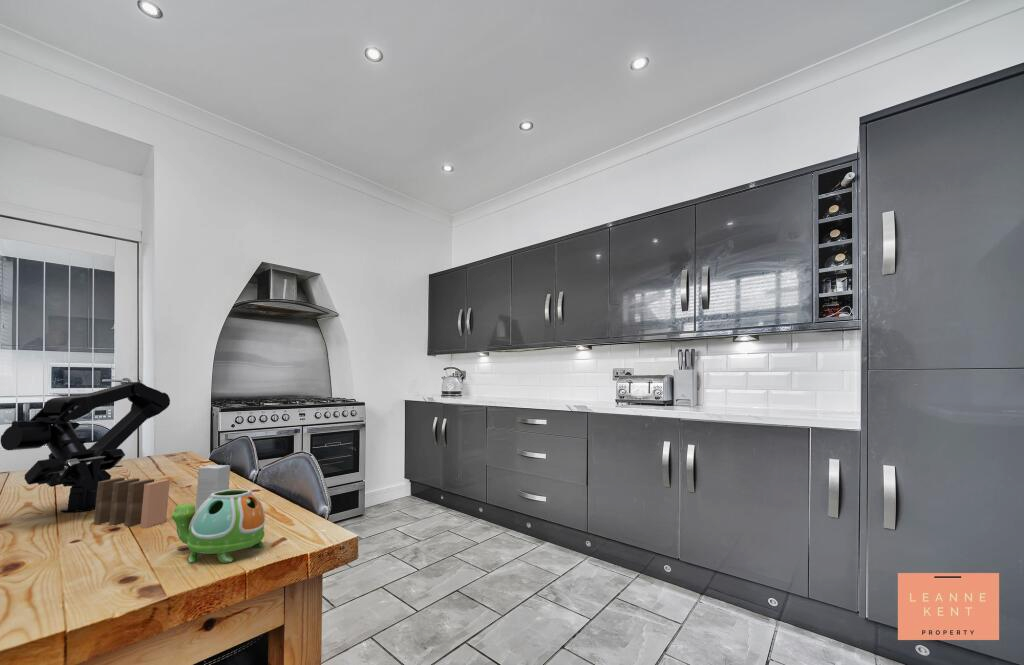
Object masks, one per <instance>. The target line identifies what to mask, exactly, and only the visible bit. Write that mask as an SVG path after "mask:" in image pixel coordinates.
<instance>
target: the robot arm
mask: <svg viewBox="0 0 1024 665" xmlns="http://www.w3.org/2000/svg"><path fill="white" fill-rule="evenodd" d="M124 399H127V400H128V401H129V402H131V406H130V410H129V412H128V413H126V415H125V416H123V417H122V418H121V419H120V420H119V421H118V422H117V423H116V424H115V425H113V426H112V427H111V428H110V429H109V430H108V431H107V432H105V433H104V435H102V436H101V437H100V438H99V439H98V440H97V441H96V442H95V443H94V444H92V445H91V446H90V447H89V448H86V446H85V443H86V442H87V439H86V438H85V437H81V438H80V436H79V435H78V433H77V432H76V429H77V428H79V426H81V423H79V422H77V421H75V420H78V419H81V418H82V417H84V416H86V415H88V414H90V413H91V412H92V411H93V410H94V409H97V408H99V407H101V406H102V407H103V406H105V405H108V404H112V403H115V402H118V401H121V400H124ZM170 405H171V397H170V396H169V395H168V393H167V392H161V391H160V390H158V389H155V388H152V387H150V386H147V385H146V384H144V383H142V382H140V381H126V382H123V383H121V384H117V385H115V386H110V387H107V388H103V389H101V390H97V391H94V392H89V393H87V394H81V395H71V396H70V395H69V396H60V397H53V398H50V399H48V400H47V401H46V402H45V404H44V405H43V407H42V408H40V410H39V411H38V412H37V413H36V414H35V415H33V417H31V418H30V420H29V421H27V420H13V421H12V422H11V425H10V426H9V427H7V428H6V429H5V430H4V432H3V434H1V435H0V445H1V448H2V449H4V450H5V451H16V450H17V451H20V450H32V449H40V448H42V447H43V446H45V445H46V446H47V447H48V449H49V451H50V453H49V454H48V459H41V460H37V461H36V463H34V464H33V466H32V467H30V469H29V470H27V472H26V473H25V474H24V478H23V479H24V480H25V482H26V483H27V485H35V484H37V485H39V486H40V485H44V484H46V485H48V486H49V488H50V487H51V488H52V487H56V486H59V485H61V486H63V487H64V488H65V487H70V488H69V495H68V498H67V500H68V501H67V507H66V508H64V509H61V510H60V513H68V512H70V513H71V512H87V511H91V510H95V507H96V498H97V488H98V482H100V481H105V480H110V479H112V478H111V477H112V475H111V474H110V473H109V472H108V471H107V470H111V469H114V468H115V466H117V465H118V464H119V463H120V461H121V460H122V459H123V458H124V457H125V456H126V454H125V452H124V451H123V449H122V448H119V447H120V446H121V445H122V444H123V443H124V442H125V441H126V440H127V439H128V438H129V437H130V436H131V435H132V434H134V433H135V432H136V430H138V428H140V427H141V426H142V425H143V423H145V422H146V421H147V420H149V419H151V418H153V417H155V416H157V415H159V414H162V412H164V411H166V410H167V409H168V408H169V406H170Z"/></svg>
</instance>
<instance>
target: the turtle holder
mask: <svg viewBox="0 0 1024 665" xmlns="http://www.w3.org/2000/svg"><path fill="white" fill-rule="evenodd" d="M247 499H249V501H247ZM195 511H196V505H194V504H193V503H191V504H184V503H180V504H178V505H177V506H176V507H174V512H173V513H171V519H172V521H174V523H175V526H176V533H177V536H178V539H179V540H180V542H182V543H183V544H185V545H187V548H188V549H189V550H190V554H189V556H188V558H187V563H189V564H194V563H196V562H197V561H198V557H199V554H205V555H206V554H209V555H210V554H212V555H214V554H217V558H218V561H219V562H220V563H225V564H226V563H227V564H228V563H232V562H233V561H234V558H233V557H232V556H231V555H230V554H229V553H230V552H235V551H240V550H243V549H247V548H251V547H253V548H256V549H257V548H263V547H265V543H264V542H263V541H262V540H263V539H264V537H265V531H264V528H265V524H266V512H265V510H264V506H263V504H262V502H261V500H260V499H259V498H258V497H257V496H256V494H254V493H253V492H252V490H251V489H243V488H242V489H239V488H238V489H236V488H235V489H229V490H223V491H219V492H215V493H212V494H211V495H210V497H209V498H208V499H207V500H206V501H205V502H204V503H203V504H202V505H201V506H200V507H199V509H198V510H197V512H195Z"/></svg>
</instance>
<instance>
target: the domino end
mask: <svg viewBox="0 0 1024 665" xmlns="http://www.w3.org/2000/svg"><path fill="white" fill-rule="evenodd" d="M170 481H171V480H170V479H159V480H155V481H154V482H152V483H147V484H144V494H143V504H142V515H141V524H140V527H141V529H147V528H150V527H154V526H156V525H160V524H163V523H165V522H167V515H168V514H167V512H168V505H169V504H168V503H169V493H170V483H171V482H170ZM140 527H139V528H140Z"/></svg>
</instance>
